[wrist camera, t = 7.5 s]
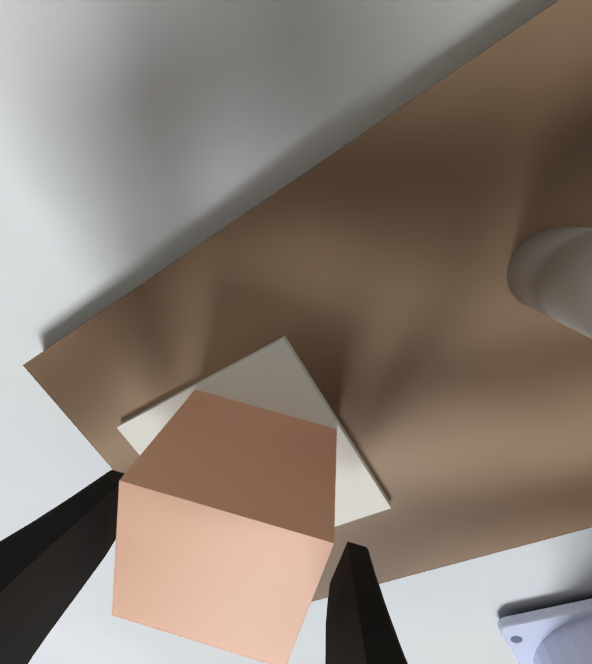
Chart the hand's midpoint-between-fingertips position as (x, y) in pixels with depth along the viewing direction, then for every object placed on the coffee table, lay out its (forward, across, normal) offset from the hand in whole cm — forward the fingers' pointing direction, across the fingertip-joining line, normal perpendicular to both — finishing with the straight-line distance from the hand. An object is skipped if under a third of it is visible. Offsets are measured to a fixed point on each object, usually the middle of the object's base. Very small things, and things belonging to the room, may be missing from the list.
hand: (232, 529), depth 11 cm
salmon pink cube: (+3, 0, 0) cm, 3 cm away
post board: (+4, -4, -4) cm, 7 cm away
